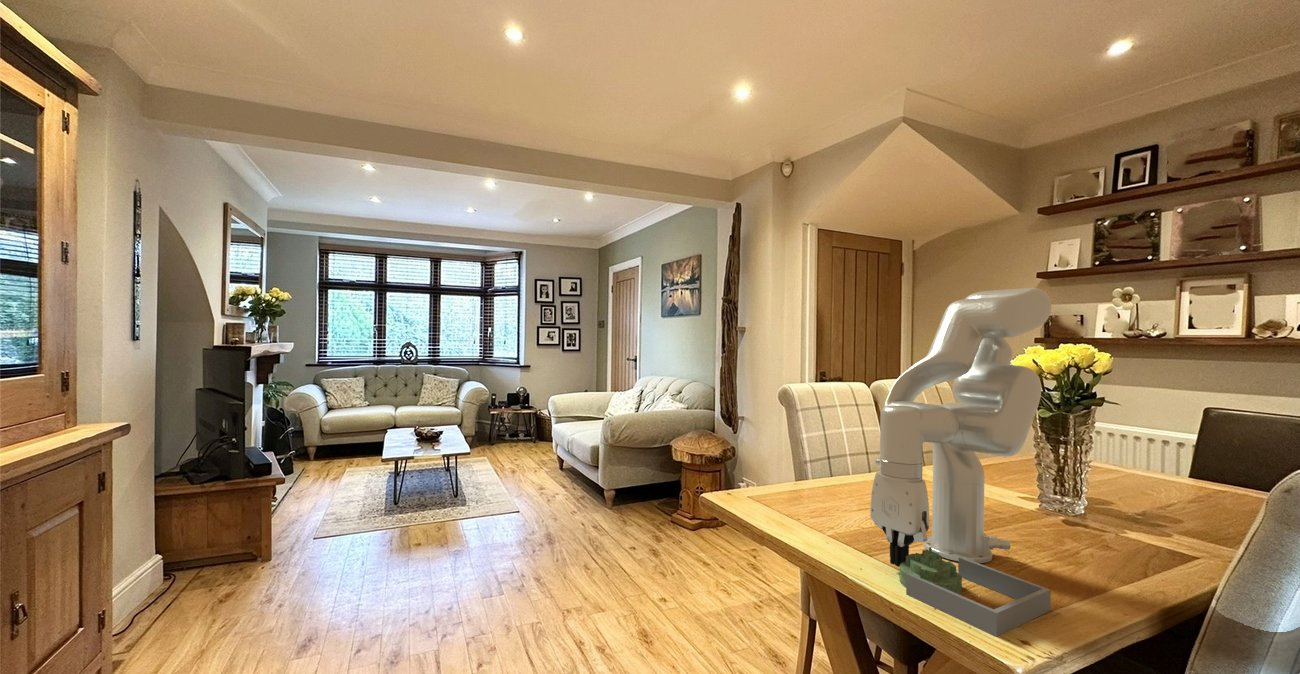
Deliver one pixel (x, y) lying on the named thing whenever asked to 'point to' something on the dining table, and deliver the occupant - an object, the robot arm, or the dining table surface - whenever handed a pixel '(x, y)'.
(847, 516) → the dining table surface
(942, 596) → the box
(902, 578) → the decorative artifact
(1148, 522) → the dining table surface
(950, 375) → the robot arm
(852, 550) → the dining table surface
